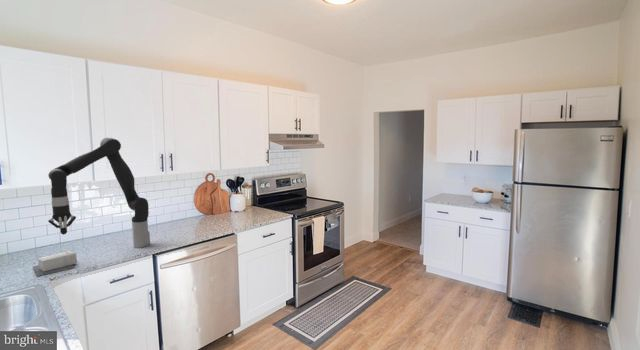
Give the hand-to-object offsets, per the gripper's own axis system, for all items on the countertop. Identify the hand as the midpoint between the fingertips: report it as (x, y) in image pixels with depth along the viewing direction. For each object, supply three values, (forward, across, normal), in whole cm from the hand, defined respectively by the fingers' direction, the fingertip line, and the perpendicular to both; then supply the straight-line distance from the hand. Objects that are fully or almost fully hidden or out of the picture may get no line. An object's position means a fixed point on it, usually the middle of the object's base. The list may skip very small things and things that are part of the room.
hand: (63, 234), depth 185 cm
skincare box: (+14, -4, 0) cm, 15 cm away
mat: (+18, +6, 0) cm, 19 cm away
